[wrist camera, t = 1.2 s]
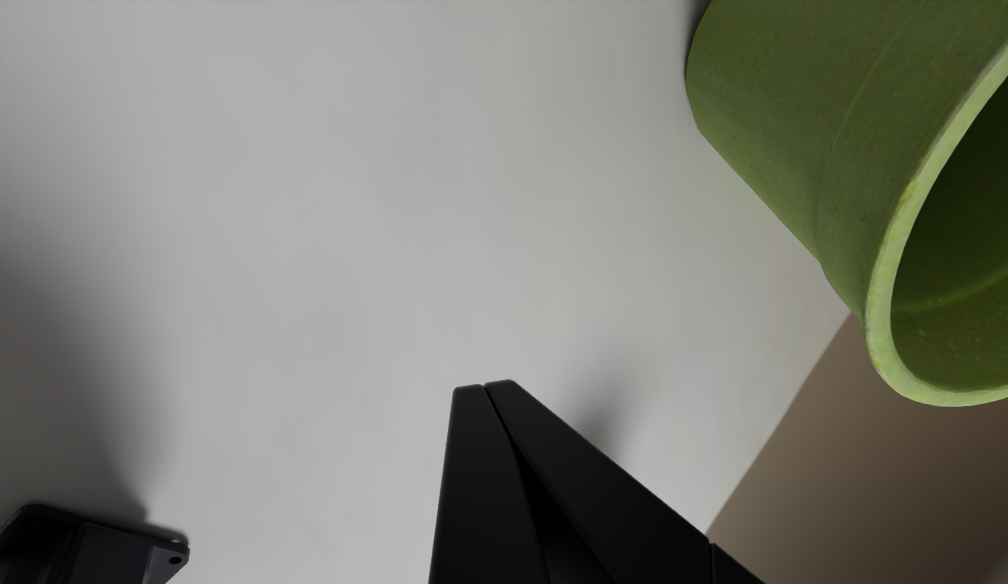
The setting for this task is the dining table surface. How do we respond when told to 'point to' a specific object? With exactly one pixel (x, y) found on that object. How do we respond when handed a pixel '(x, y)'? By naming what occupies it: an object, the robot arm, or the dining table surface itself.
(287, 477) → the dining table surface
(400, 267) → the dining table surface
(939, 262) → the plant pot
